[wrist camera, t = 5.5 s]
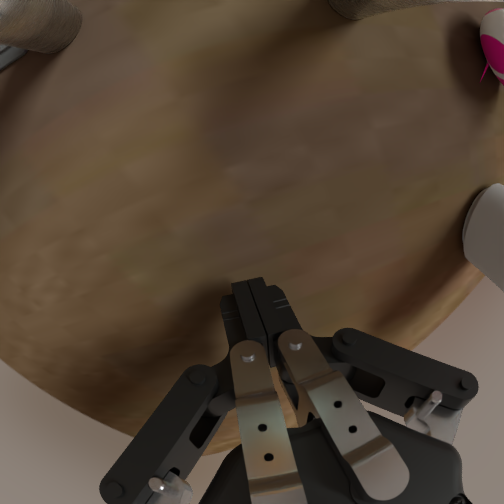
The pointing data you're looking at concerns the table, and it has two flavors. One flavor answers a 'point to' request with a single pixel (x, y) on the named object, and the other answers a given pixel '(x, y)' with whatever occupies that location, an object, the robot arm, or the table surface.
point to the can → (486, 233)
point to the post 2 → (381, 6)
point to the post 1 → (39, 24)
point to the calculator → (10, 55)
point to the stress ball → (493, 42)
